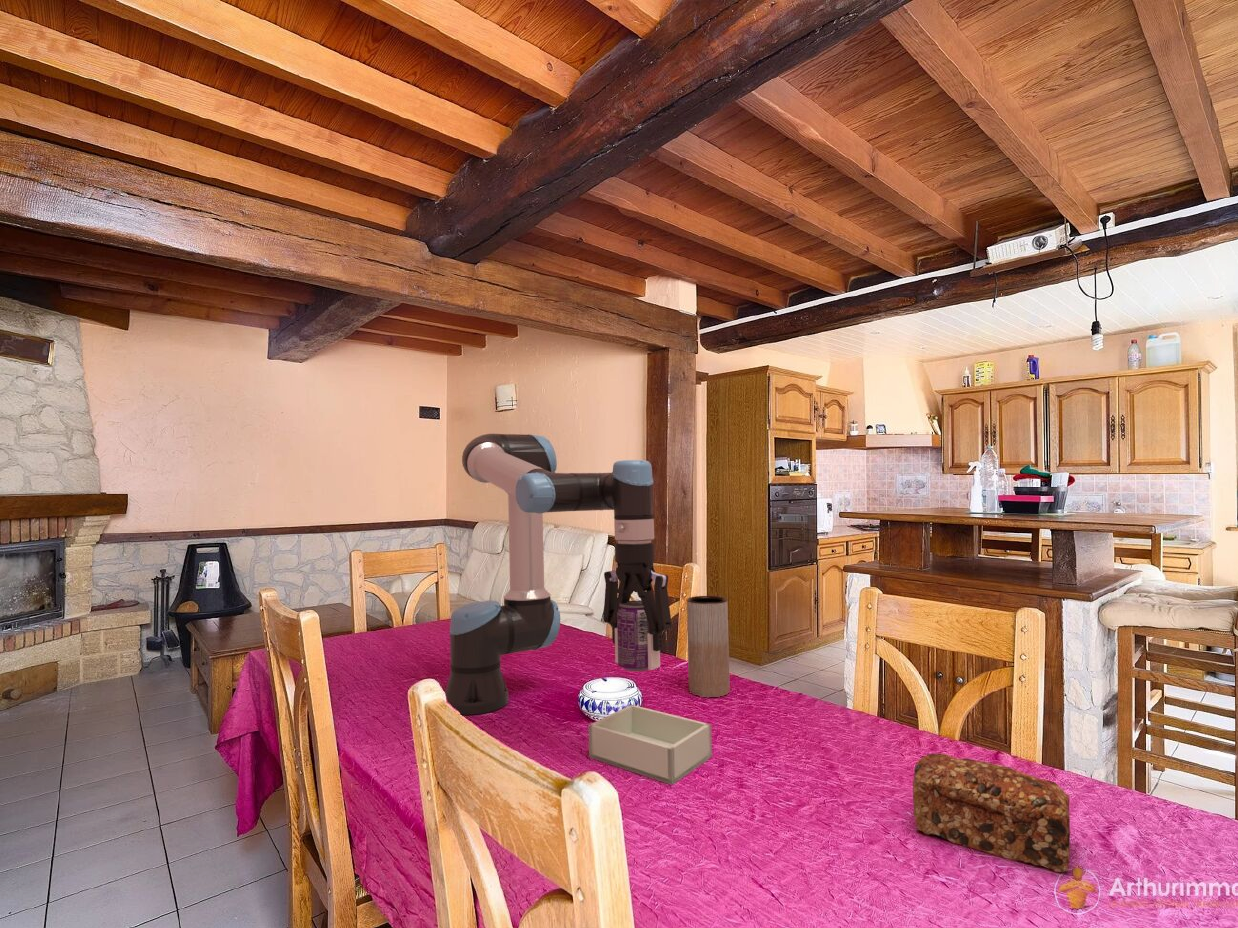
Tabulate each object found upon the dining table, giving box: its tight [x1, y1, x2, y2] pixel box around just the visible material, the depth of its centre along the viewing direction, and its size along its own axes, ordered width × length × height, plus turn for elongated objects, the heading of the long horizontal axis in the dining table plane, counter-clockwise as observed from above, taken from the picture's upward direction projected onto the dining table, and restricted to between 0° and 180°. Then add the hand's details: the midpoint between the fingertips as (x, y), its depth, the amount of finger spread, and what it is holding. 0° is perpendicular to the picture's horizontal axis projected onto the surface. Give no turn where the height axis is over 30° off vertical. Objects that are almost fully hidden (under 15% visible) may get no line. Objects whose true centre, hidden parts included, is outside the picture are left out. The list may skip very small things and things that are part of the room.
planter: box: [686, 595, 731, 698], centre depth 153 cm, size 10×10×23 cm
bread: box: [912, 752, 1071, 873], centre depth 88 cm, size 19×11×10 cm, turn 54°
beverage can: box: [617, 600, 651, 672], centre depth 116 cm, size 7×7×12 cm
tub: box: [588, 704, 713, 786], centre depth 117 cm, size 19×14×6 cm
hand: (637, 664), depth 116 cm, fingers closed on beverage can, 7 cm apart
